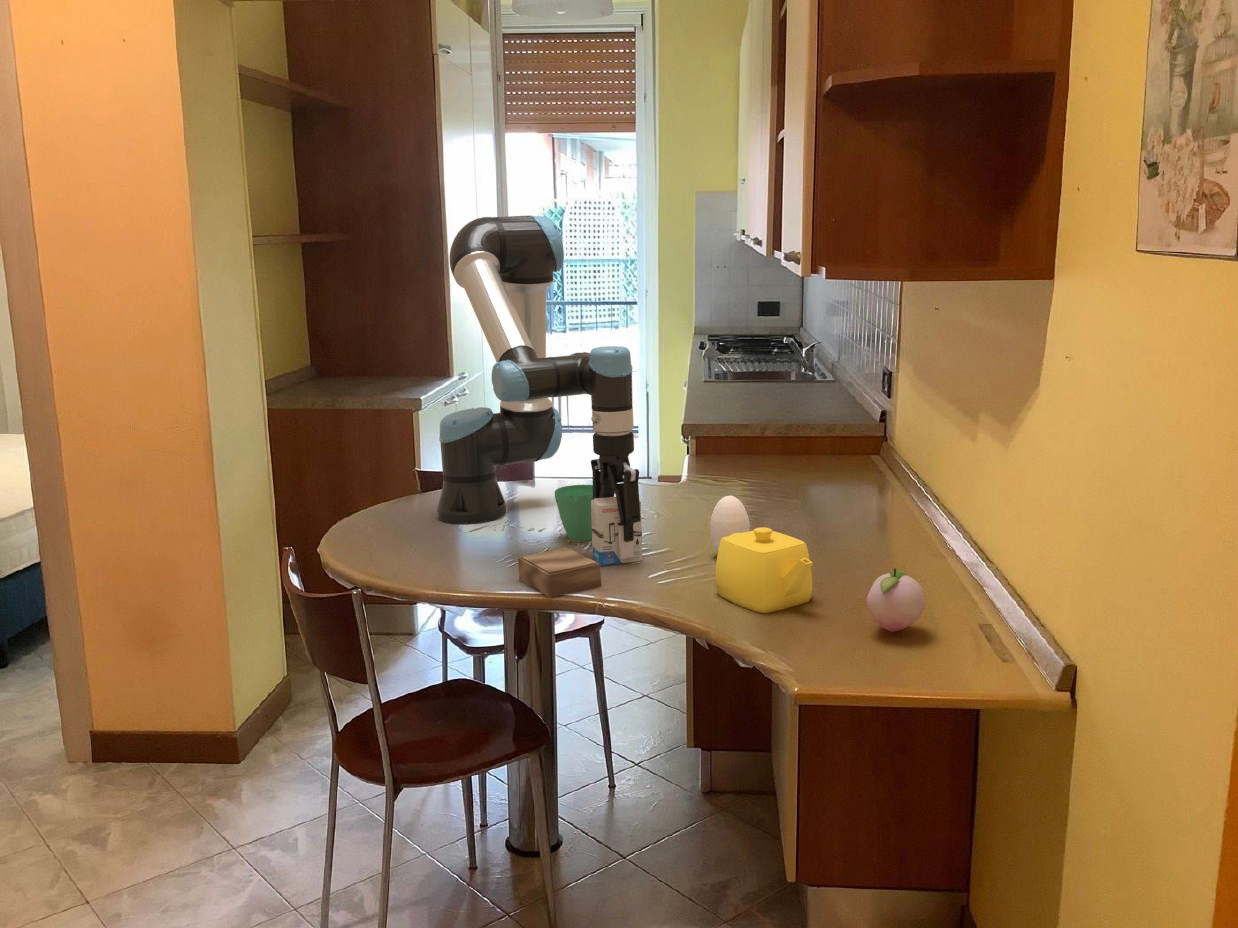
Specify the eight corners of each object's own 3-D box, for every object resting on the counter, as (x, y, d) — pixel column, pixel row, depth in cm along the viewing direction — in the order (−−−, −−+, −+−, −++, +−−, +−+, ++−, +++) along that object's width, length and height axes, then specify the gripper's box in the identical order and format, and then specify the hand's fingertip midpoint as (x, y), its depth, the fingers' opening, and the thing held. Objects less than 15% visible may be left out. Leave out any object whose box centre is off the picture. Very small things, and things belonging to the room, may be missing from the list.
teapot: (837, 607, 167) (837, 537, 165) (778, 624, 161) (777, 551, 158) (757, 576, 184) (756, 511, 181) (700, 590, 177) (699, 523, 175)
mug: (569, 547, 204) (566, 498, 202) (549, 536, 213) (546, 488, 211) (634, 536, 211) (633, 488, 209) (613, 525, 219) (611, 479, 217)
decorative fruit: (920, 646, 150) (922, 580, 148) (863, 640, 153) (864, 575, 151) (927, 624, 159) (929, 561, 156) (872, 618, 162) (873, 556, 159)
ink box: (599, 566, 192) (596, 505, 189) (592, 559, 197) (589, 498, 194) (643, 561, 194) (641, 500, 192) (635, 553, 199) (633, 494, 196)
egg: (702, 556, 196) (700, 496, 193) (729, 548, 200) (728, 489, 198) (730, 565, 190) (729, 503, 188) (758, 556, 195) (757, 495, 192)
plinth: (519, 579, 186) (518, 556, 185) (568, 568, 191) (567, 546, 190) (550, 597, 176) (548, 573, 175) (601, 585, 181) (600, 562, 180)
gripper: (570, 427, 196) (576, 545, 201) (622, 442, 180) (626, 569, 185) (604, 422, 200) (609, 538, 205) (658, 436, 184) (661, 561, 189)
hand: (617, 552), depth 195 cm, fingers closed on ink box, 6 cm apart
